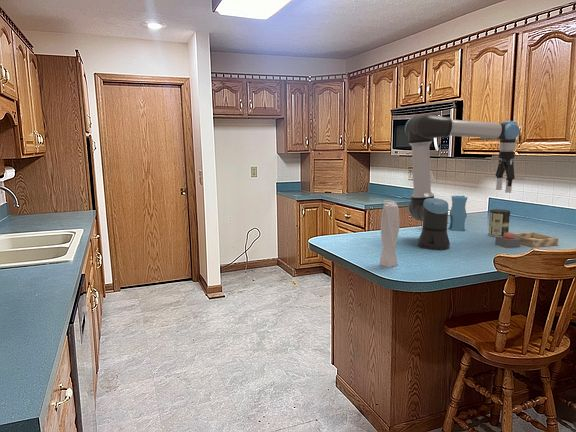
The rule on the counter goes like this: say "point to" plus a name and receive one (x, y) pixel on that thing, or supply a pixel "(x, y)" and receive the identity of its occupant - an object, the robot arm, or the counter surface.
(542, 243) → the woven basket tray
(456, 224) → the vase
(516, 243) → the button box
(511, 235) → the button
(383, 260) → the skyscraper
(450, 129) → the robot arm
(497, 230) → the coffee can
